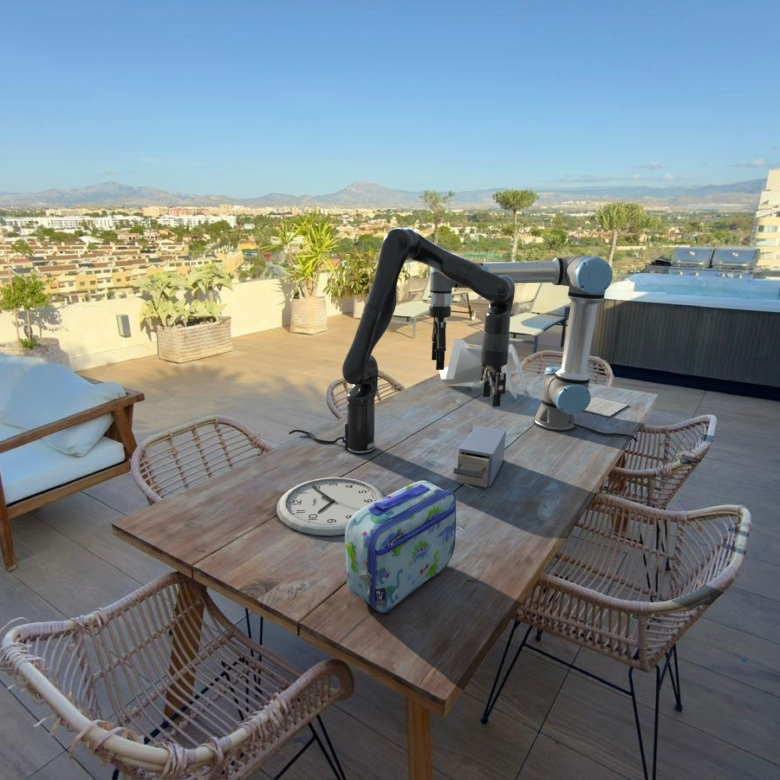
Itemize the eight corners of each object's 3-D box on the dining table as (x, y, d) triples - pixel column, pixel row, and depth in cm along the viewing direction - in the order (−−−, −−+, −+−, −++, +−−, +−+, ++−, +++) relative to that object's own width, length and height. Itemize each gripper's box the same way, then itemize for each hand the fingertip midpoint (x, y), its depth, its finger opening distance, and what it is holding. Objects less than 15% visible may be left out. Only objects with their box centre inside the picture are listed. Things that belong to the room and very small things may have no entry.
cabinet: (490, 486, 155) (492, 454, 151) (457, 480, 158) (458, 448, 155) (503, 460, 173) (506, 430, 169) (473, 454, 176) (475, 425, 173)
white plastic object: (461, 429, 252) (437, 405, 227) (444, 352, 274) (420, 323, 250) (535, 404, 240) (518, 377, 215) (510, 326, 262) (492, 293, 237)
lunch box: (374, 626, 100) (375, 530, 93) (338, 598, 107) (337, 508, 101) (459, 568, 117) (465, 484, 111) (424, 547, 124) (427, 467, 118)
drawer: (481, 496, 147) (483, 468, 145) (451, 490, 150) (452, 462, 148) (499, 461, 169) (501, 437, 166) (472, 456, 172) (474, 432, 170)
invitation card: (608, 416, 214) (573, 407, 224) (608, 416, 214) (573, 408, 224) (628, 404, 229) (594, 396, 238) (628, 405, 229) (594, 397, 238)
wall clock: (392, 527, 129) (268, 531, 127) (391, 533, 130) (269, 537, 127) (383, 473, 158) (282, 475, 155) (383, 478, 158) (282, 480, 156)
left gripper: (474, 342, 155) (471, 394, 159) (491, 353, 141) (486, 410, 146) (498, 341, 156) (494, 393, 161) (517, 353, 142) (512, 409, 147)
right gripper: (425, 300, 192) (423, 356, 198) (433, 310, 168) (430, 374, 174) (446, 300, 192) (443, 356, 198) (456, 310, 168) (453, 374, 175)
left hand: (490, 401), depth 153 cm, fingers open, 8 cm apart
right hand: (437, 364), depth 186 cm, fingers open, 13 cm apart
